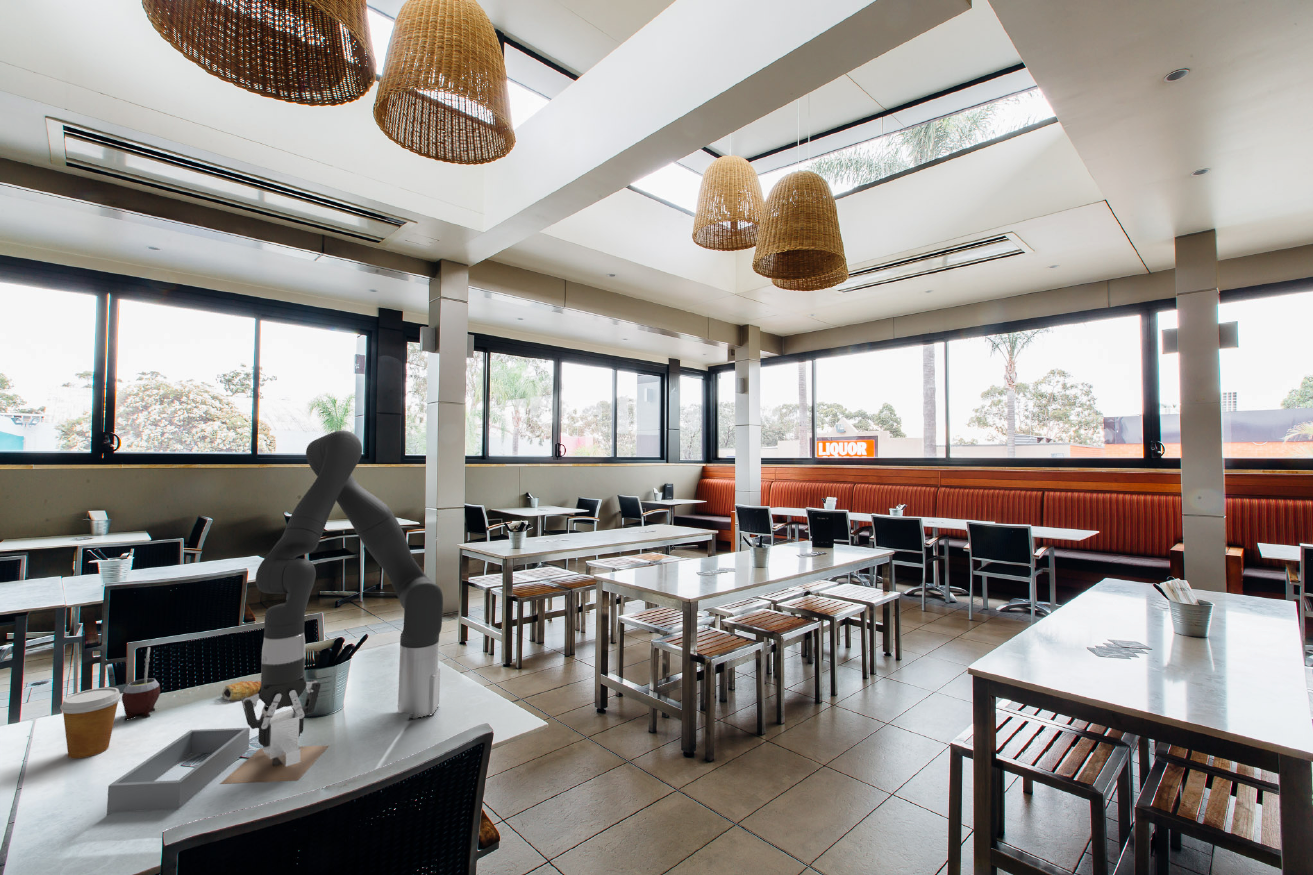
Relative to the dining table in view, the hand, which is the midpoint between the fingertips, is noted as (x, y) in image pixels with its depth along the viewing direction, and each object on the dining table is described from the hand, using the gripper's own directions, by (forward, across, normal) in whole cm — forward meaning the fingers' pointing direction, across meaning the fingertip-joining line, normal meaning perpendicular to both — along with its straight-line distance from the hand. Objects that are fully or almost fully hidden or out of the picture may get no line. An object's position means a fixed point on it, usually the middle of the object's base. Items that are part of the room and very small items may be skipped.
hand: (280, 740), depth 120 cm
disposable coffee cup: (+6, +26, -38) cm, 46 cm away
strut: (+2, 0, 0) cm, 2 cm away
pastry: (+6, -4, -51) cm, 52 cm away
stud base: (+6, 0, 0) cm, 6 cm away
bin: (+6, +14, -7) cm, 17 cm away
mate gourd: (+6, +16, -54) cm, 57 cm away
